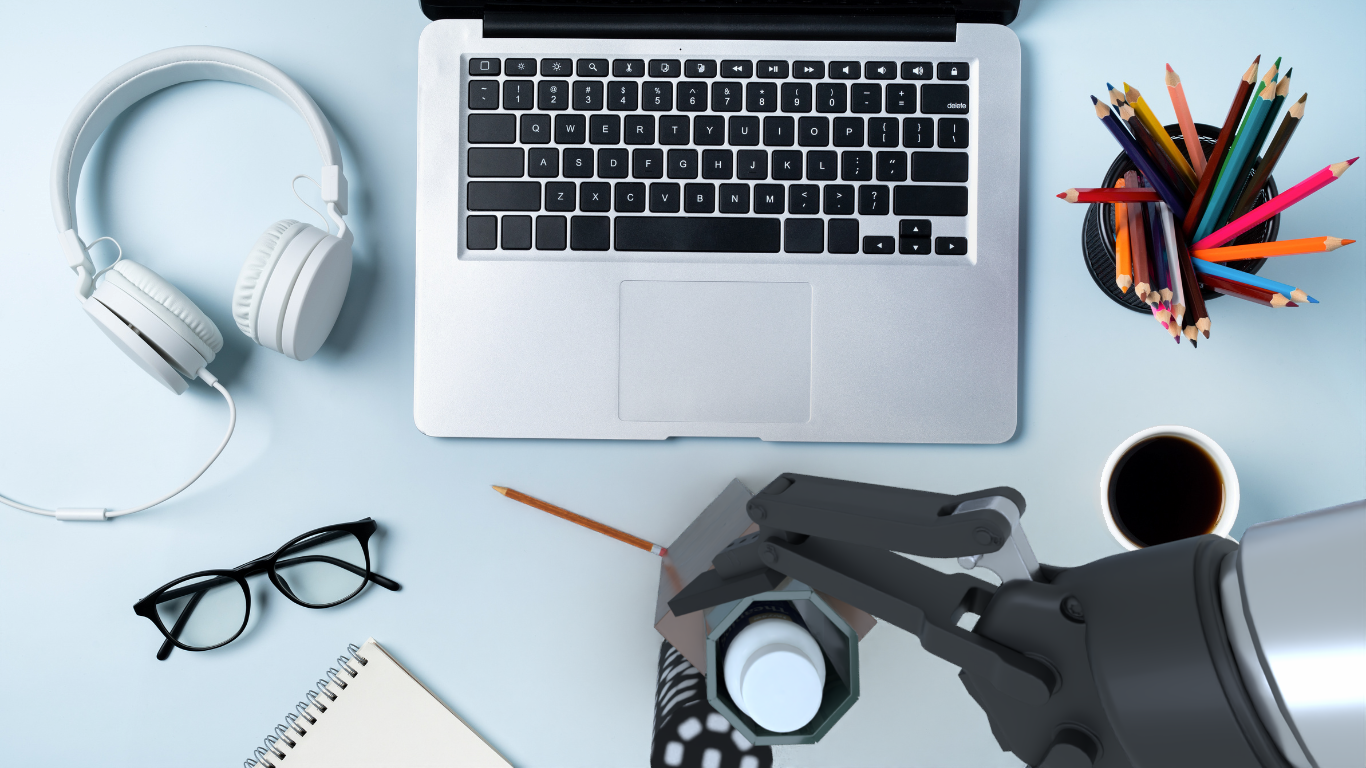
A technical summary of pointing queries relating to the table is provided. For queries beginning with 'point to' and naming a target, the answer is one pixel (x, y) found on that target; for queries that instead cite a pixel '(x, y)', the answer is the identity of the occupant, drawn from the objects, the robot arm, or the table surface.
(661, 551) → the pencil
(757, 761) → the white-spotted black cylinder
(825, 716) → the cup
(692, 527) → the stand
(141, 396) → the table surface
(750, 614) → the pill bottle
